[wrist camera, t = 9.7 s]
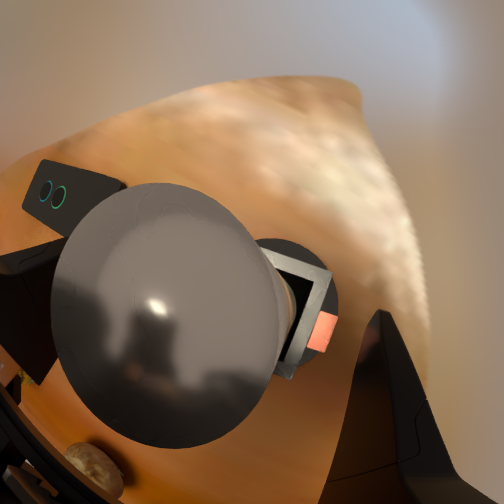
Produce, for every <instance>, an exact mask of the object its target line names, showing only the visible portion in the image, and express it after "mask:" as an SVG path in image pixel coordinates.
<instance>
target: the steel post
mask: <svg viewBox="0 0 504 504" xmlns="http://www.w3.org/2000/svg"><path fill="white" fill-rule="evenodd" d="M50 314H51V327H52V334H53V340H54V344H55V348H56V351H57V355H58V358H59V360H60V363H61V366H62V368H63V370H64V373H65V375H66V377H67V379H68V381H69V382H70V384H71V386H72V387H73V389H74V391H75V392H76V394H77V395H78V396H79V398H80V399H81V400H82V402H83V403H84V404H85V405H86V406H87V408H88V409H89V410H90V411H91V412H92V413H93V414H94V415H95V416H96V417H97V418H99V419H100V420H101V421H102V422H103V423H104V424H106V425H107V426H108V427H110V428H111V429H113V430H114V431H116V432H117V433H119V434H121V435H123V436H125V437H127V438H129V439H131V440H133V441H136V442H139V443H142V444H145V445H149V446H153V447H158V448H169V449H180V448H191V447H195V446H199V445H203V444H206V443H209V442H211V441H213V440H216V439H218V438H220V437H222V436H223V435H225V434H226V433H228V432H230V431H231V430H233V429H234V428H235V427H236V426H237V425H239V424H240V423H241V422H242V421H243V420H244V419H245V418H246V417H247V416H248V415H249V414H250V412H251V411H252V410H253V408H254V407H255V406H256V404H257V403H258V402H259V400H260V398H261V396H262V394H263V393H264V391H265V389H266V387H267V385H268V383H269V380H270V378H271V376H272V373H273V371H274V368H275V366H276V363H277V361H278V358H279V356H280V353H281V351H282V348H283V346H284V343H285V341H286V338H287V335H288V333H289V330H290V328H291V327H292V324H293V322H294V319H295V316H296V299H295V296H294V293H293V291H292V289H291V287H290V286H289V284H288V283H287V282H286V281H285V280H284V279H283V278H282V277H281V275H280V274H279V273H278V271H277V270H276V269H275V267H274V266H273V265H272V263H271V262H270V261H269V259H268V258H267V257H266V255H265V254H264V253H263V251H262V250H261V248H260V247H259V246H258V244H257V243H256V242H255V240H254V239H253V238H252V236H251V235H250V234H249V232H248V231H247V230H246V228H245V227H244V226H243V224H242V223H241V222H240V221H239V220H238V219H237V218H236V217H235V216H234V215H233V214H232V213H231V212H230V211H229V210H227V209H226V208H225V207H223V206H222V205H221V204H220V203H218V202H217V201H216V200H214V199H212V198H210V197H209V196H207V195H205V194H203V193H201V192H199V191H196V190H194V189H191V188H188V187H185V186H181V185H176V184H170V183H149V184H141V185H137V186H133V187H130V188H126V189H124V190H122V191H119V192H117V193H115V194H113V195H111V196H110V197H108V198H106V199H105V200H103V201H102V202H100V203H99V204H98V205H97V206H95V207H94V208H93V209H92V210H91V211H90V212H89V213H88V214H87V215H86V216H85V217H84V218H83V219H82V220H81V221H80V223H79V224H78V225H77V227H76V228H75V229H74V231H73V232H72V234H71V236H70V237H69V239H68V241H67V242H66V244H65V246H64V249H63V251H62V253H61V255H60V258H59V261H58V264H57V267H56V270H55V274H54V279H53V284H52V291H51V304H50Z"/></svg>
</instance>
